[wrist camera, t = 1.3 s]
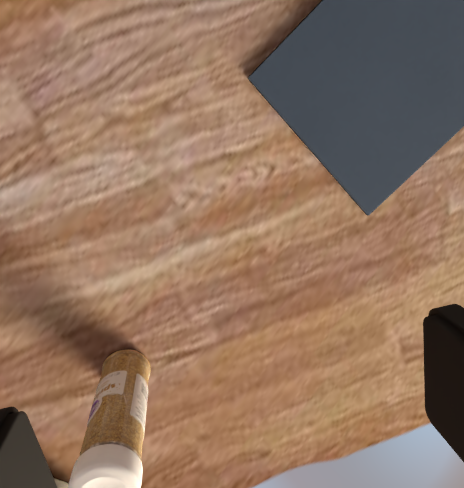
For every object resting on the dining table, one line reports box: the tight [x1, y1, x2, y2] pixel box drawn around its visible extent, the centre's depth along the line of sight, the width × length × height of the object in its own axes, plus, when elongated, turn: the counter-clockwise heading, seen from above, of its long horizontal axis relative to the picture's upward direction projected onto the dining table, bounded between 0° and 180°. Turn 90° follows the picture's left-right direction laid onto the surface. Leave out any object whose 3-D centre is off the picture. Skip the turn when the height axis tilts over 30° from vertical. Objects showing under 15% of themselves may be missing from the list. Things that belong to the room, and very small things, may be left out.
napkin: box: [248, 0, 464, 215], centre depth 33 cm, size 16×20×1 cm
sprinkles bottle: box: [68, 349, 150, 488], centre depth 32 cm, size 5×5×14 cm
